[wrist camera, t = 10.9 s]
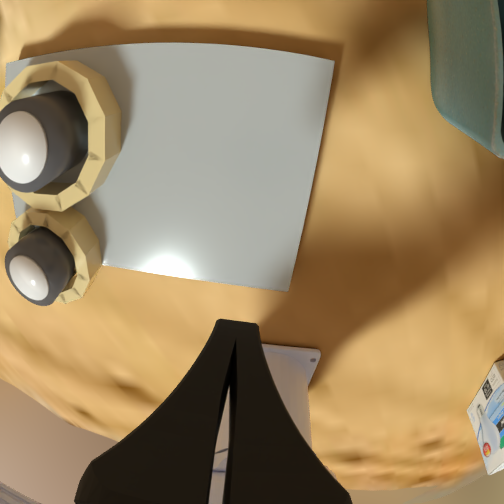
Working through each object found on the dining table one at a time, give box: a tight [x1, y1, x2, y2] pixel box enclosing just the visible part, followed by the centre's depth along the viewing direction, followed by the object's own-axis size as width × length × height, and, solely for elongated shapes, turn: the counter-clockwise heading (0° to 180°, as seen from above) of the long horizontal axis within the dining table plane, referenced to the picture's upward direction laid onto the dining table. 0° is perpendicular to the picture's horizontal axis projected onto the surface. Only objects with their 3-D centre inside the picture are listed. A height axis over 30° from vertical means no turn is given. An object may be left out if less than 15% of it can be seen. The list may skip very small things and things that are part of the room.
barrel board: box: [0, 43, 335, 306], centre depth 16 cm, size 16×20×5 cm
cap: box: [0, 91, 88, 193], centre depth 14 cm, size 5×5×4 cm
